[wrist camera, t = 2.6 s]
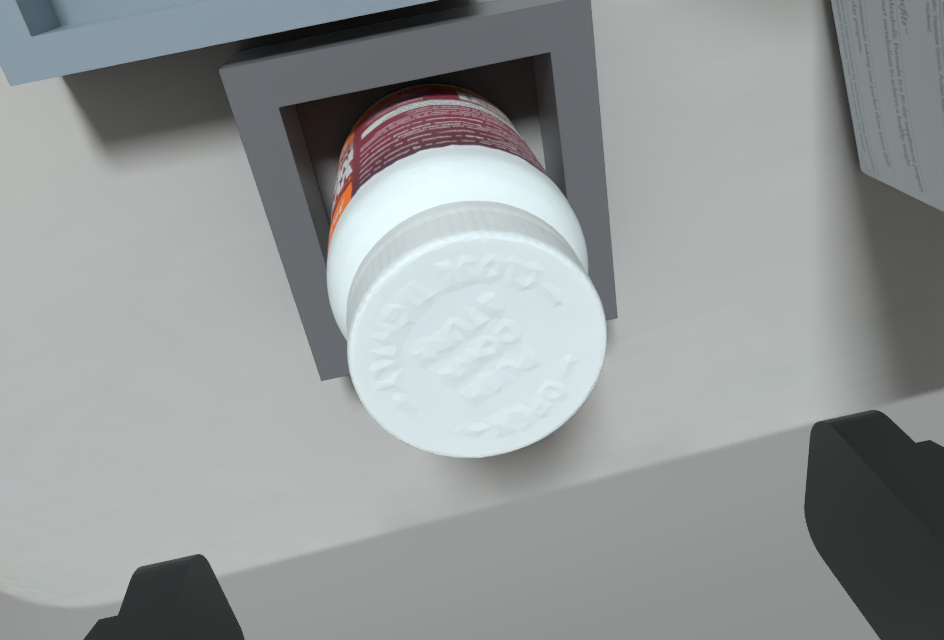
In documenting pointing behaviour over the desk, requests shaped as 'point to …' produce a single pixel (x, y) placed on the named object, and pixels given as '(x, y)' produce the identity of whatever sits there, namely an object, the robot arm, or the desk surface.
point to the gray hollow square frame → (399, 60)
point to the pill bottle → (459, 277)
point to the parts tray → (147, 29)
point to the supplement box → (896, 90)
